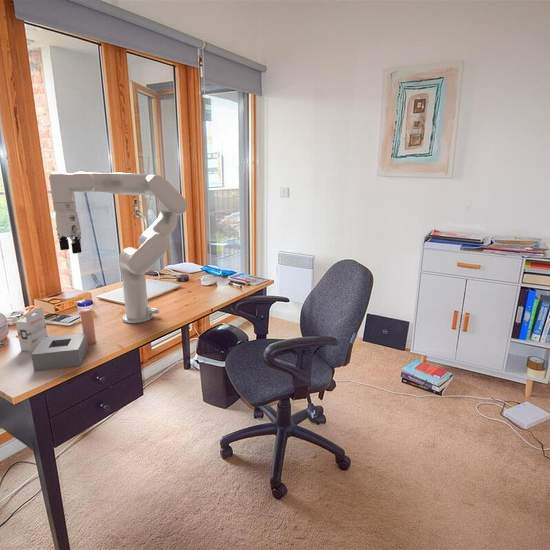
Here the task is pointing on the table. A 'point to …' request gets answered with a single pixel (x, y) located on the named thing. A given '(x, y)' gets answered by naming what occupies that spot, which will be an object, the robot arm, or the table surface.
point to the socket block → (60, 351)
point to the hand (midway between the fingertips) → (70, 251)
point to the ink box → (31, 330)
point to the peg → (88, 325)
